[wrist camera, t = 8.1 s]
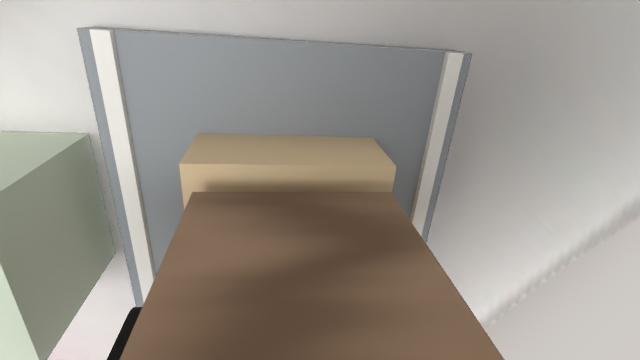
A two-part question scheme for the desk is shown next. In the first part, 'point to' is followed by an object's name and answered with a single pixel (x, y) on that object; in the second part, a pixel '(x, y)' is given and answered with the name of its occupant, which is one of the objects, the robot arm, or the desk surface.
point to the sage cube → (47, 238)
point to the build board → (263, 124)
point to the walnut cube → (302, 284)
